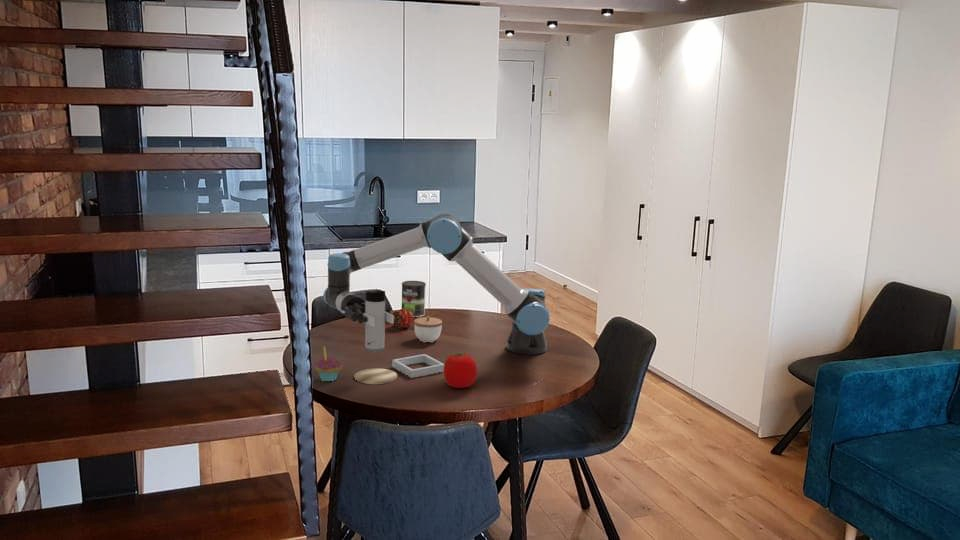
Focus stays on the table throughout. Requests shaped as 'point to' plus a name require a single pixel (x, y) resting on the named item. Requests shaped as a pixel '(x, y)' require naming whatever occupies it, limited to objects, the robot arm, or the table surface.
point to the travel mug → (376, 310)
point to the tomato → (460, 370)
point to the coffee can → (414, 297)
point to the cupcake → (328, 367)
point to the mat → (375, 376)
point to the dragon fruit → (403, 318)
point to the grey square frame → (433, 368)
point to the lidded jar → (427, 328)
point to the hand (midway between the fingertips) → (383, 320)
